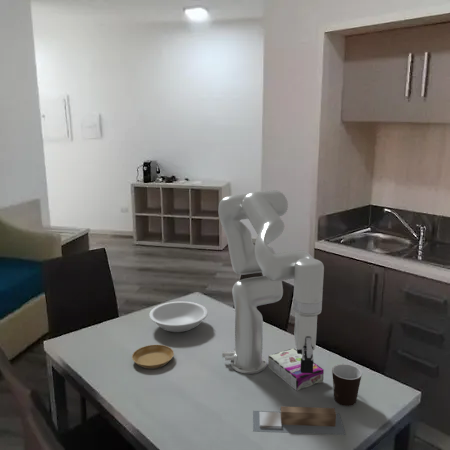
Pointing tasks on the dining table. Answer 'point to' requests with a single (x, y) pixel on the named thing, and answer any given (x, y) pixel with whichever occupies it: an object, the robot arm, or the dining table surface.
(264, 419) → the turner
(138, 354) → the plant saucer
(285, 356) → the candy bar box
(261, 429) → the mat
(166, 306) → the soup bowl
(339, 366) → the coffee mug
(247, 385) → the dining table surface
